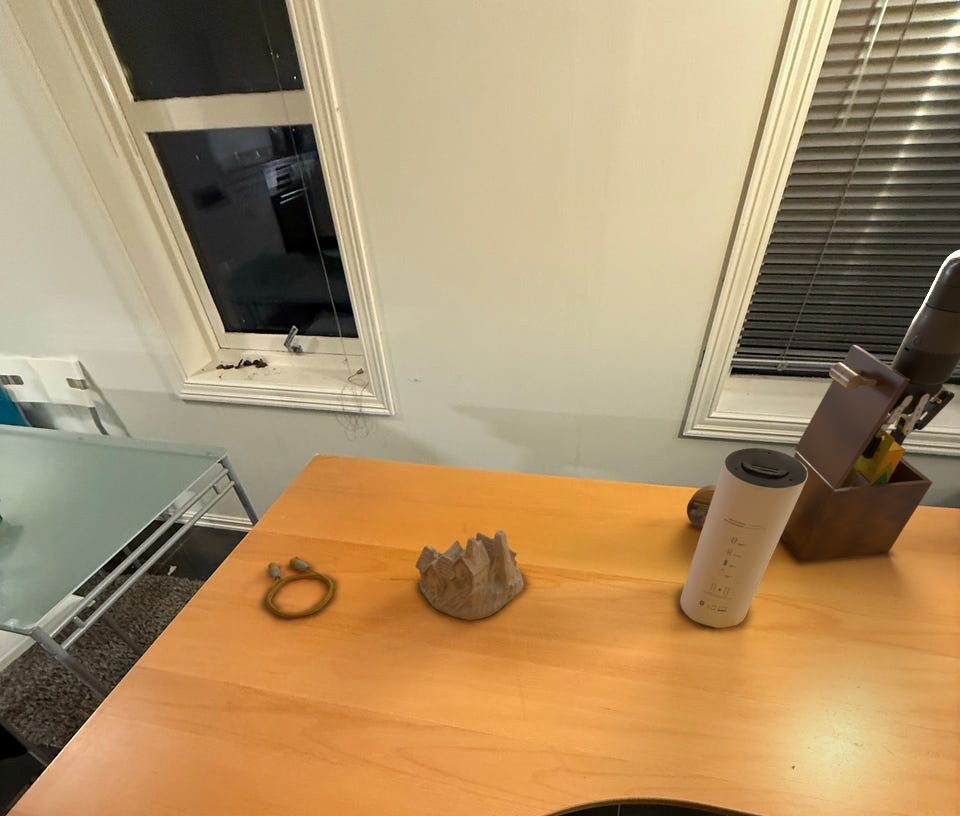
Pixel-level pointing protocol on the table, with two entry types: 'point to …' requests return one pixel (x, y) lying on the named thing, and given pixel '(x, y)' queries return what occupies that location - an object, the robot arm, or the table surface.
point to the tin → (700, 505)
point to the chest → (852, 515)
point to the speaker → (741, 534)
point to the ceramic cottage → (470, 576)
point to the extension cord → (299, 565)
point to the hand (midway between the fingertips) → (876, 454)
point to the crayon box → (876, 465)
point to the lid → (849, 414)
